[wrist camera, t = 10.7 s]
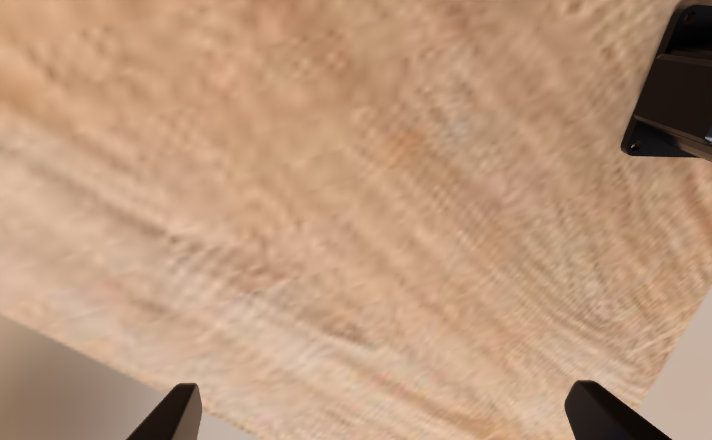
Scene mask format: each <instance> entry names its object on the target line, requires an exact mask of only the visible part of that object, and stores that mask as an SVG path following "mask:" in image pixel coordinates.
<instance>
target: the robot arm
mask: <svg viewBox="0 0 712 440" xmlns="http://www.w3.org/2000/svg"><path fill="white" fill-rule="evenodd" d="M686 14H688V19H687V20H686V22H685V23H683V20H684V17H685V16H686ZM635 142H636V144H635V146H634V147H632V148H631V146H632V145H633V143H635ZM621 150H622V151H623V152H624V153H626V154H628V155H631V156H653V157H693V158H703V159H705V160H708V161H710V162H712V6H705V5H684V6H681V7H680V8H678V9H677V10H676V11H675V12H674V13H673V15H672V17H671V19H670V21H669V24H668V26H667V29H666V32H665V34H664V37H663V39H662V42H661V44H660V47H659V49H658V52H657V54H656V57H655V59H654V62H653V64H652V67H651V70H650V72H649V75H648V77H647V80H646V82H645V85H644V87H643V90H642V92H641V95H640V97H639V100H638V102H637V105H636V108H635V110H634V113H633V115H632V118H631V120H630V123H629V125H628V128H627V130H626V133H625V135H624V138H623V140H622V143H621ZM565 411H566V414H567V417H568V420H569V423H570V425H571V428H572V431H573V434H574V436H575V439H576V440H672V439H671V438H669V437H668V436H667V435H665V434H664V433H663V432H661V431H660V430H659V429H657V428H656V427H655V426H653V425H652V424H651V423H650V422H648V421H647V420H645V419H644V418H643V417H642V416H640V415H639V414H638V413H636V412H635V411H634V410H632V409H631V408H630V407H628V406H627V405H626V404H625V403H623V402H622V401H621V400H619V399H618V398H617V397H615V396H614V395H613V394H611V393H610V392H609V391H607V390H606V389H605V388H604V387H602V386H601V385H600V384H598V383H597V382H595V381H592V380H578V381H576V382H575V383H574V384H573V386H572V388H571V390H570V392H569V394H568V396H567V398H566V400H565ZM201 416H202V403H201V398H200V393H199V387H198V385H197V384H196V383H180V384H178V385H176V386H175V387H174V388H173V389H172V390H171V391H170V392H169V393H168V394H167V396H166V397H165V398H164V399H163V400H162V401H161V402H160V403H159V404H158V405H157V406H156V408H155V409H154V410H153V411H152V412H151V413H150V414H149V415H148V416H147V417H146V419H144V421H143V422H142V423H141V424H140V425H139V426H138V427H137V428H136V429H135V430H134V431H133V432H132V434H131V435H130V436H129V437H128V438H127V439H126V440H197V435H198V430H199V425H200V421H201Z"/></svg>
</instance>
